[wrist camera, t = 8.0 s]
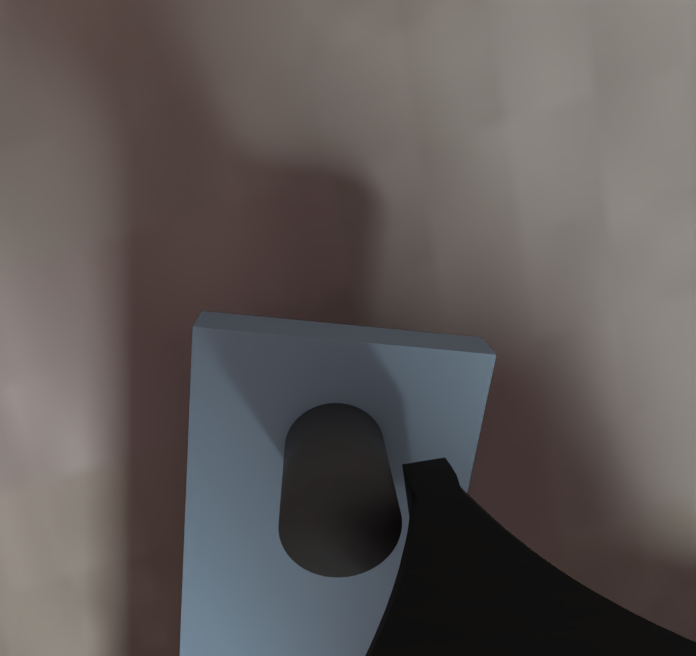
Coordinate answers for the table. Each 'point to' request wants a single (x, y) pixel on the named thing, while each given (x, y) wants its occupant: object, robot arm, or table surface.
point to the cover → (312, 474)
